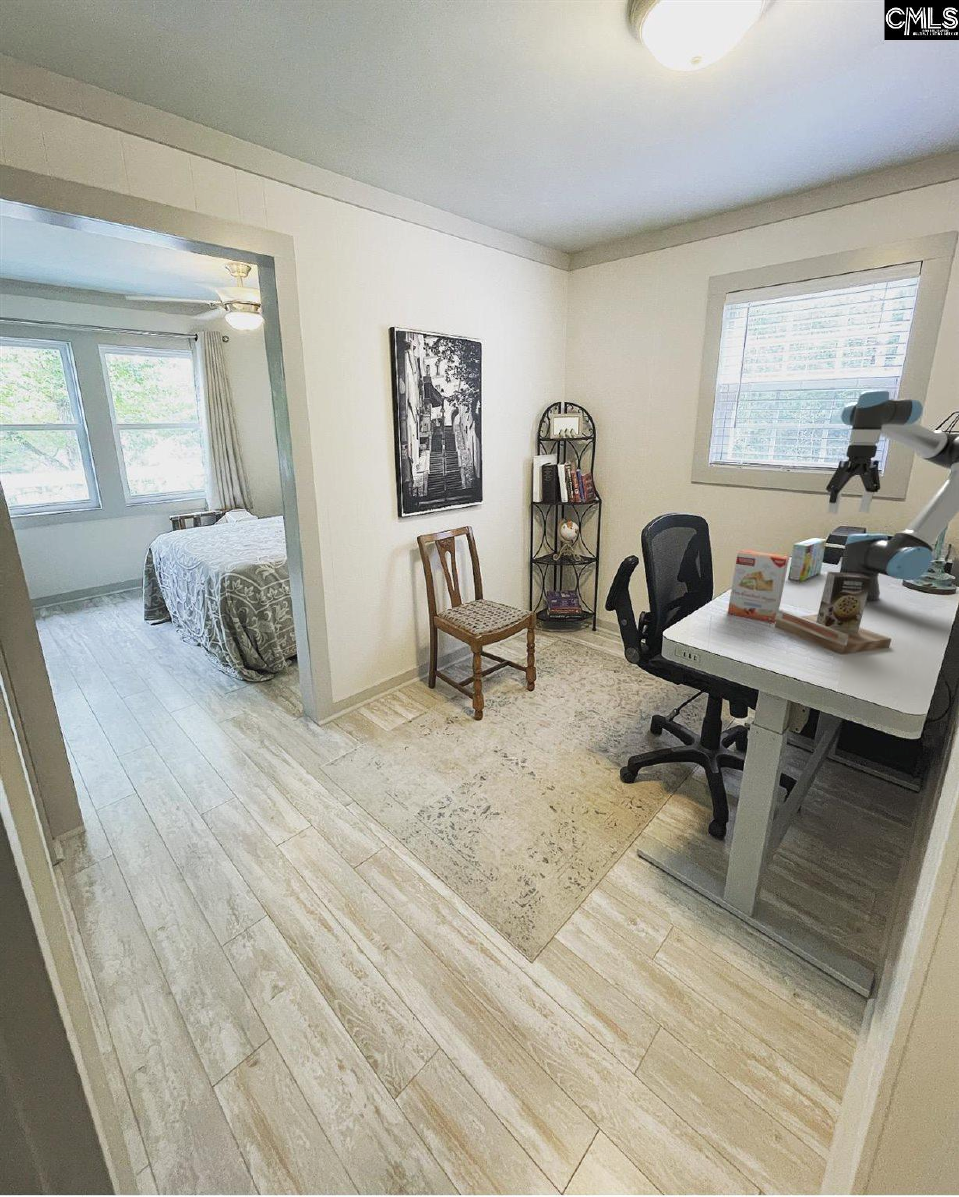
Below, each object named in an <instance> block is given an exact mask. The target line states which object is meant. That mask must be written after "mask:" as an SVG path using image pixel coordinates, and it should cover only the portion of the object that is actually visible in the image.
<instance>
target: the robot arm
mask: <svg viewBox="0 0 959 1197" xmlns="http://www.w3.org/2000/svg"><path fill="white" fill-rule="evenodd" d="M923 408H924V407H923V404H922V403H921V401H920V400H918V399H912V398H890V392H889V391H888V390H869V391H868V390H865V391H863V392H861V393H860V394H859V396H858V399H857V401H856V402H850V403H848V404H847V405H846V406H845V407H844V408H843V410H842V412H841V421H842V423H843V424H844V425H846V426H851V434H850V437H849V443H850V444H849V445H848V446H847V450H846V458H848V459H847V460H845V459H844V460H842V459H841V460H839V462H838V466H837V468H836V470H835V472H834V473H833V475H832V477H831V478H830V480H829V482H828V484H827V486H826V488H825V490H826V491H827V492H829V493H830V495H829V502H828V503H829V504H828V509H827V514H830V515H831V514H833V515H838V511H839V506H840V501H841V496H842V493H841V491H842V489H844V488H845V486H846V485H847V484H848V483H849V481H850V480H851V479H852V477H855V476H859V477H860V479H861V482H862V485H863V487H864V489H865V491H863V492H862V496H861V501H860V505H859V509H858V512H859V513H866V514H867V513H869V511H870V509H871V505H872V504H871V503H872V501H873V497H874V493H878V492H879V490H880V489H881V481H880V474H879V460H878V459H877V460H874V458H875V457H876V455H877V450H878V445H877V444H879V443H880V438H881V437H883V438H885V439H888V440H889V441H892V442H894V443H896V444H898V445H901V446H903V447H905V448H907V449H909V450H911V451H914V452H916V455H917V456H918V457H919V458H921V459H923V460H925V461H927V462H931V463H933V464H935V465H936V466H939V467H942V468H946V469H949V470H951V473H950V475H949V476H948V477H947V479H946V480H945V481H943V482H944V483H943V484H942V485H941V486H940V487H939V488H938V489H937V491H936V492H935V493H934V494H933V496H931V498H930V499H929V500H928V502H927V503H926V504H925V505H924V507H923V508H922V509H921V510H920V512H919V513H918V514H917V515H916V516H915V518H914V519H913V520H912V521H911V523H909V525H908V526H907V527H906V528H905V529H904V530H902V531H897V532H895V534H894V535H893V536H892V537H891V539H890V540H888V539H889V538H888V535H887V534H885V533H883V534H882V533H851V534H849V535H848V537H847V538H846V542H845V544H844V549H843V553H842V554H843V555H842V560H841V564H840V568H839V572H840V573H856V574H862V575H865V576H867V577H869V578H871V583H870V587H869V591H868V595H867V599H866V602H867V601H878V600H879V598H880V595H881V592H880V583H879V574H880V575H884V576H887V577H890V578H892V579H895V580H896V579H897V580H903V581H910V580H916V579H918V578H920V577H921V576H923V575H924V574H926V573H927V571H929V570H930V568H931V566H932V564H933V563H932V562H933V561H934V555H933V551H934V547H933V543H934V542H935V540H936V539H937V538H938V537H939V536H940V535H941V533H942V532H943V531H944V530H945V529H946V527H947V526H948V525H949V524H950V523H951V521H952V520H953V519H954V518H955V517H956V515H957V514H958V513H959V434H957V433H956V434H954V433H947V432H944V431H941V430H934V431H933V430H932V429H930V428H928V427H925V426H923V425H920V424H918V423H917V421H918V420H919V419H920V418H921V416H922V413H923ZM872 459H873V460H872Z"/></svg>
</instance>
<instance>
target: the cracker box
mask: <svg viewBox="0 0 959 1197" xmlns="http://www.w3.org/2000/svg"><path fill="white" fill-rule="evenodd" d="M789 561H790V555H783V554H777V553H767V552H760V551H753V550H746V549H741V550H739V551H738V552H737V556H736V560H735V562H736V563H735V566H734V572H733V578H732V585H731V591H730V596H729V603H728V609H727V614H730V615H734V616H738V617H739V616H740V617H745V618H750V619H755V620H759V621H764V622H769V623H776V618H777V612H778V610H780V607H781V601H782V597H783V593H784V588H785V587H784V585H785V581H786V577H787V571H788V567H789V566H788V565H789Z"/></svg>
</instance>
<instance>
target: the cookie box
mask: <svg viewBox="0 0 959 1197" xmlns="http://www.w3.org/2000/svg"><path fill="white" fill-rule="evenodd" d="M870 583H871V578H869V577H867V576H865V575H862V574H856V573H840V571H838V572H836V571H827V573H826V579H825V583H824V587H823V591H822V596H821V600H820V605H819V609H818V613H817V614H818V617H817V621H816V623H819V624H821V625H824V626H827V627H829V628H832V629H835V630H837V631H849V632H858V631H859V627H860V628H861V623H862V618H863V615H864V614H863V613H864V610H865V605H866V603H867V601H866V599H867V595H868V591H869V587H870Z"/></svg>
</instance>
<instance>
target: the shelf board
mask: <svg viewBox="0 0 959 1197" xmlns="http://www.w3.org/2000/svg"><path fill="white" fill-rule="evenodd" d="M817 617H818V613H816V614H811V615H809V614H808V615H801V616H799V615H796V614H794V613H792V612H788V611H786V610H783V609H779V610H778V612H777V618H776V620H775V622H774V623H775V625H774V628H776V629H779V630H781V631H784V632H786V633H788V634H790V635H793V636H796V637H799V638H800V639H803V640H806V641H809V642H810V643H813V644H815V645H818V646H820V647H822V648H824V649H825V648H826V649H827V650H830V651H833V652H835V653H837V654H839V655H847V654H850V653H858V652H863V651H871V650H878V649H885V648H890V646H891V642H892V638H891V637H888V636H886V635H882V634H879V633H876V632H873V631H871V630H868V629H865V628H862V627H861V626H860V627H859V631H858V632H849V631H837V630H835V629H832V628H829V627H827V626H824V625H821V624H819V623H816V621H817Z"/></svg>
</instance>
